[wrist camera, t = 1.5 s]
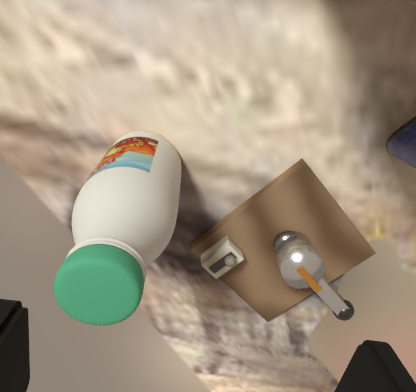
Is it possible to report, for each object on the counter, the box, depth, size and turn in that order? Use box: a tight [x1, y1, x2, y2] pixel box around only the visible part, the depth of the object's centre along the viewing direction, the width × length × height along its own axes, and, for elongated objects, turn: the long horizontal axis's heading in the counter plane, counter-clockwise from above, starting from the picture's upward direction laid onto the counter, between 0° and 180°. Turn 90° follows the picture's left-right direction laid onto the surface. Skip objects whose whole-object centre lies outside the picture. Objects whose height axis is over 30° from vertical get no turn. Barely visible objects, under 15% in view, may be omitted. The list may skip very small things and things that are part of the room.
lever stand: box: [191, 159, 375, 322], centre depth 38 cm, size 16×15×5 cm
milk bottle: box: [54, 131, 181, 325], centre depth 26 cm, size 8×8×20 cm
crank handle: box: [273, 231, 354, 320], centre depth 38 cm, size 13×4×5 cm, turn 41°
